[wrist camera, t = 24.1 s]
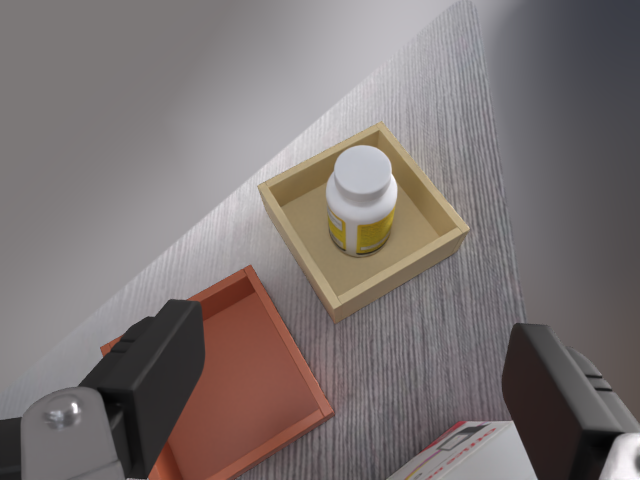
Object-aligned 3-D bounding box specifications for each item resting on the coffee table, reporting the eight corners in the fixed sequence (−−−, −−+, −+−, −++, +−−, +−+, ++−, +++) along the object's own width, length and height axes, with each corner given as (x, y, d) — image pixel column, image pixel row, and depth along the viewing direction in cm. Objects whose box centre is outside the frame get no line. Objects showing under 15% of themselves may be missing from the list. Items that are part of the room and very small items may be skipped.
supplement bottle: (398, 213, 40) (412, 148, 31) (379, 266, 38) (389, 213, 30) (340, 195, 41) (339, 128, 33) (319, 247, 40) (312, 190, 31)
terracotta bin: (187, 509, 32) (163, 519, 28) (127, 357, 37) (99, 347, 33) (335, 415, 34) (333, 411, 30) (261, 282, 39) (250, 263, 35)
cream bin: (334, 324, 37) (333, 309, 33) (265, 211, 42) (256, 185, 38) (457, 251, 39) (470, 229, 35) (378, 151, 44) (381, 120, 40)
